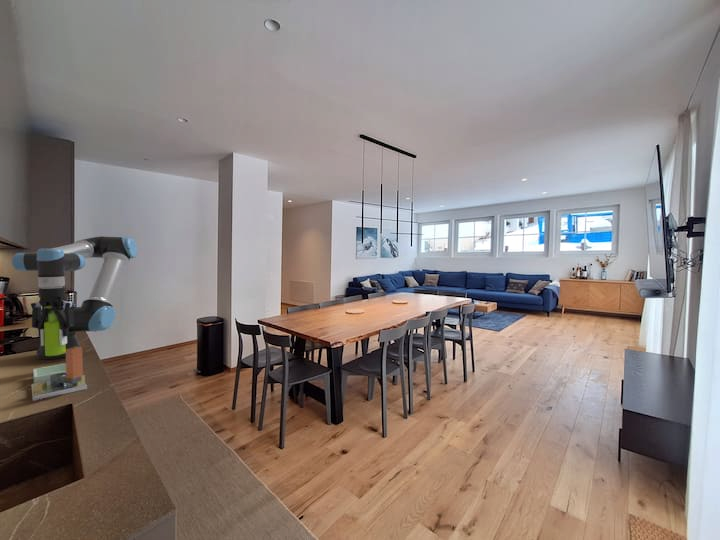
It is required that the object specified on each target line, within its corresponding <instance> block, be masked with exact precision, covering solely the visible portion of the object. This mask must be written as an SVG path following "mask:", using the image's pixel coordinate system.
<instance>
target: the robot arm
mask: <svg viewBox="0 0 720 540" xmlns="http://www.w3.org/2000/svg"><path fill="white" fill-rule="evenodd" d="M137 254H138V246H137V244H136V241H135V239H133V238H132V237H129V236H128V237H127V236H103V235H102V236H93V237H87V238H84V239H80V240H76V241H74V242H73V243H70V244H66V245H61V246H58V247H52V248H38V249H37V251H35V252H17V253H15V254H14V255H13V256H12V259H11V263H12V266H13V268H14V269H15V270H17V271H23V272H24V271H25V272H35V271H36V272H37V284H38V287H39V288H38V291H37V292H38V298H39V301H37V302H31V303H30V306H31V310H32V312H31V313H32V314H31V328H32V329H37V331H38V338H40V343H38V348H37V350H36V352H35V358H36V360H52V359H55V360H56V359H61V358H66V353H64V354H60V355H56V356H46V355H45V334H44V323H45V322H48V313H50V312H51V311H54V313H56V316H57V318H58V321H59V323H60V326H61V328H60V329H59V339H60V345H64V344H66V349H68V348H72V347H82V346H81V344H80V342H79V339H78V337H77V333H78V332H79V333H81V332H84V333H85V332H91V333H92V332H93V333H94V332H95V333H96V332H103V331H106V330H107V329H110V328H111V327H112V325H113V324H114V322H115V320H116V310H115V308H114V306H113V304H112V303H111V302H112V299H113V296H114V293H115V291H116V288H117V286H118V282H119V281H120V277H121V275H122V273H123V272H122V271H123V269H124V266H125V265H127V264H129V262H130V259H135V258H136V257H137ZM89 258H98V259H99V258H100V259H102V260H103V262H102V264H101V267H100V270H99V272H98V275H97V277H96V280H95V282H94V283H93V286H92V288H91V289H92V290H91V291H90V294H89V297H88V298H87V299H84V300H83V301H82V303H81V305H80V306H76V304H75V303H74V301H66V299H65V296H66V287H65V286H66V281H65V280H66V276H65V272H70V271H71V272H72V271H73V272H75V271H80V270H83V268H84V267H85V266H86V263H87V262H86V259H89ZM48 305H51V306H52V308H47V309H45V308H44V307H46V306H48Z"/></svg>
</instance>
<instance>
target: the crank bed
mask: <svg viewBox="0 0 720 540" xmlns="http://www.w3.org/2000/svg"><path fill="white" fill-rule="evenodd" d="M81 377H82V381H79V382H77V383H74V384H69V383H66V384H63V385H59V386H50V381H45V382H40V383H35V384H34V383H31V395H32V398H31V399H32V402H36V401H39V399H40V400H43V398H45V399H49V398H53V397H56V396H61V395H65V394H71V393H74V392H79V391H83V390H87V389H88V385H87V382H86V374H83V376H81Z"/></svg>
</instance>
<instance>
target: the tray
mask: <svg viewBox="0 0 720 540" xmlns="http://www.w3.org/2000/svg"><path fill="white" fill-rule="evenodd" d="M32 370H33V371H32V373H33V374H32V375H33V384H35V383H40V382H45V381H50V376H51V375H54V374H58V373H66V362H65V363H60V364H55V365H48V366H43V367H38V368H33V369H32Z"/></svg>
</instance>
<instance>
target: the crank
mask: <svg viewBox="0 0 720 540" xmlns="http://www.w3.org/2000/svg"><path fill="white" fill-rule="evenodd" d="M65 363H66V373H58V374H54V375H51V376H50V386H59V385H63V384H66V383H69V384H74V383H77V382H79V381H82V377H81V376H83V375H84V370H83V368H84V366H83V364H84V363H83V347H82V346H81V347H72V348H68V349H66V357H65Z"/></svg>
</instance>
